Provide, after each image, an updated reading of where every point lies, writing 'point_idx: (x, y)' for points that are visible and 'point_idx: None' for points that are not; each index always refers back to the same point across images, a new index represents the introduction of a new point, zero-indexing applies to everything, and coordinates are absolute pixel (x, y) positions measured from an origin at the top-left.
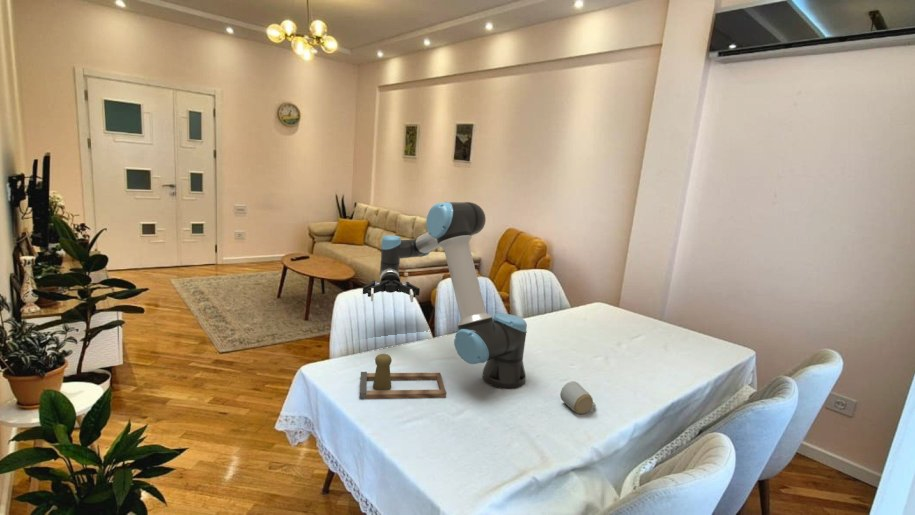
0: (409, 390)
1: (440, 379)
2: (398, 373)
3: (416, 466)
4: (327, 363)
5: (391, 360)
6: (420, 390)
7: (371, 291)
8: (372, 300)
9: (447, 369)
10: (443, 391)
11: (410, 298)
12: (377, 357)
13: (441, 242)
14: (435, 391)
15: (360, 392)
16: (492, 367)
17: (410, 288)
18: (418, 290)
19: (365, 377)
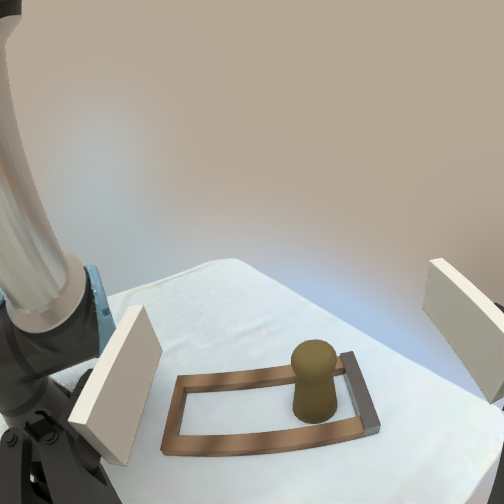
0: (250, 379)
1: (170, 421)
2: (275, 444)
3: (254, 278)
4: (484, 461)
5: (291, 363)
6: (227, 381)
7: (469, 283)
8: (426, 304)
9: (133, 484)
10: (180, 380)
11: (146, 375)
12: (329, 344)
13: (19, 18)
14: (196, 380)
15: (351, 353)
16: (60, 392)
17: (66, 458)
18: (24, 434)
19: (360, 403)
